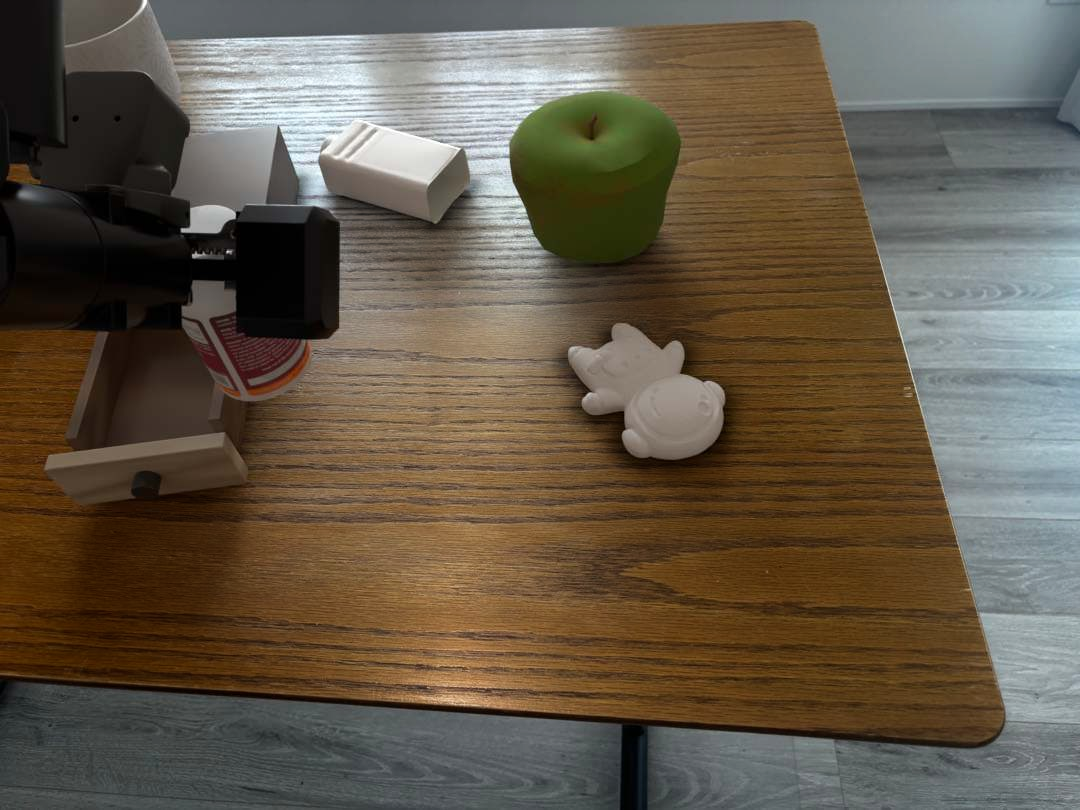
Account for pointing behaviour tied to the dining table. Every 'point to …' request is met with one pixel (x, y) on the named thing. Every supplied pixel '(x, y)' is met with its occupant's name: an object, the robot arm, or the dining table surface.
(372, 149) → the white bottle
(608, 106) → the apple
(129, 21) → the planter
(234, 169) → the cabinet
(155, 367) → the drawer
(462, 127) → the dining table surface
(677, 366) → the white cartoon figurine
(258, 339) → the pill bottle
